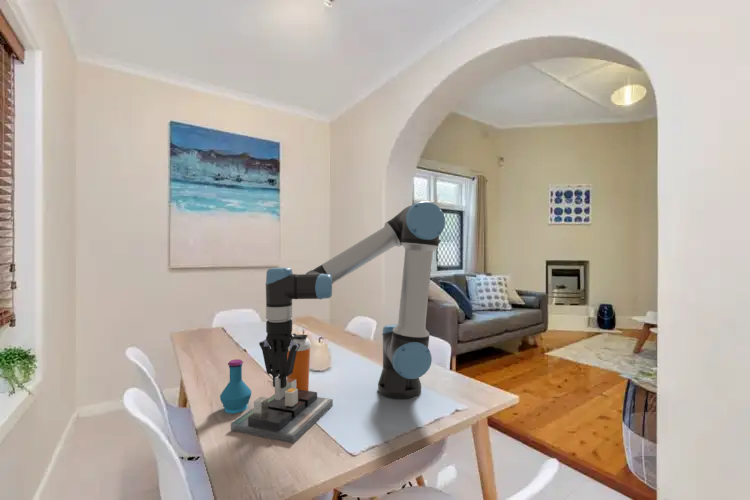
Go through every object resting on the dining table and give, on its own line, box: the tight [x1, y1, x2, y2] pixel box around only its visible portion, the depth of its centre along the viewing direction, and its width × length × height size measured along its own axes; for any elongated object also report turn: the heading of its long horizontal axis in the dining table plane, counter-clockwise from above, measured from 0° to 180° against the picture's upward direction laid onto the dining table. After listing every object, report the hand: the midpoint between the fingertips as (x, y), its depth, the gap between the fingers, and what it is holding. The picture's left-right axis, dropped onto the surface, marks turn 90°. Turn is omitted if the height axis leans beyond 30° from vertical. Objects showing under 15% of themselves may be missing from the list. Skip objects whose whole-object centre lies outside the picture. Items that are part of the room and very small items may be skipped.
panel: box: [230, 378, 334, 444], centre depth 107 cm, size 20×23×8 cm
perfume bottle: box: [219, 358, 252, 414], centre depth 113 cm, size 9×9×15 cm
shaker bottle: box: [287, 332, 312, 391], centre depth 125 cm, size 9×9×20 cm
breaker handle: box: [285, 388, 298, 407], centre depth 106 cm, size 2×3×4 cm
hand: (279, 397), depth 107 cm, fingers closed
